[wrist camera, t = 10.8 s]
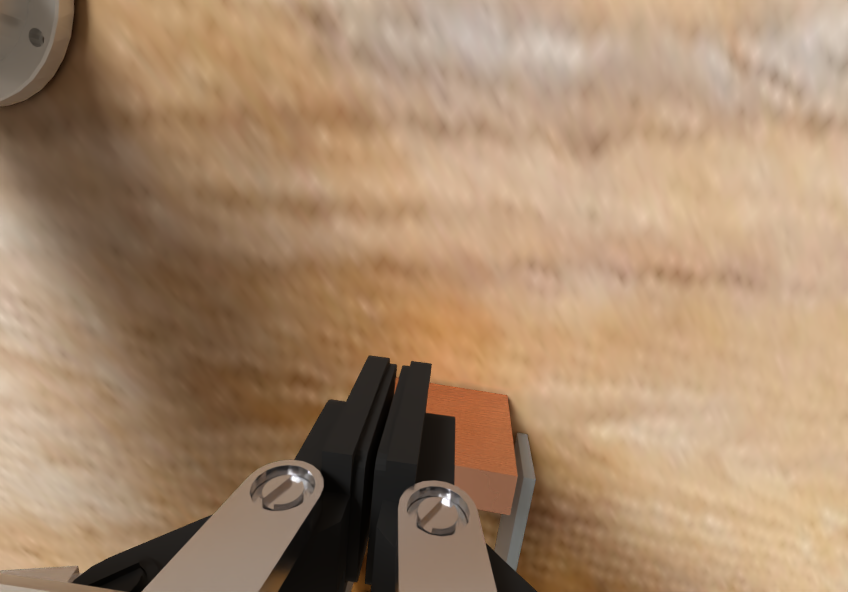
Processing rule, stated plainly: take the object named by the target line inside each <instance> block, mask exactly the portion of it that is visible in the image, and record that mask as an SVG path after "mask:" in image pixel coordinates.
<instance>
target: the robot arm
mask: <svg viewBox="0 0 848 592" xmlns="http://www.w3.org/2000/svg"><path fill="white" fill-rule="evenodd" d="M73 17H74V0H0V106H9V105H12V104H15V103H18V102H21V101H24V100H27V99H28V98H30V97H31V96H33V95H34V94H36V93H37V92H39V91H40V90H41V89H42V88H43V87H44V86H45V85H46V84H47V83H48V82H49V81H50V80H51V78H52V77H53V76H54V75H55V73H56V71H57V69H58V68H59V66H60V64H61V62H62V61H63V59H64V56H65V53H66V50H67V47H68V44H69V41H70V38H71V32H72V25H73ZM431 365H432V364H430V363H422V362H414V361H411V365H410V366H402V370H401V373H400V376H399V380H398V383H397V387H396V390H395V381H396V371H397V365H396V364H390V358H384V357H377V356H368V358H367V360H366V362H365V364H364V366H363V368H362V370H361V373H360V375H359V377H358V379H357V381H356V383H355V385H354V387H353V389H352V391H351V393H350V395H349V397H348V399H347V401H346V402H345V401H338V400H329V401H328V402H327V403H326V405H325V407H324V409H323V410H322V412H321V414H320V416H319V417H318V419H317V421H316V423H315V424H314V426H313V428H312V430H311V432H310V433H309V435H308V437H307V439H306V440H305V442H304V444H303V446H302V447H301V449H300V451H299V453H298V454H297V456H296V458H295V460H281V461H276V462H273V463H269V464H267V465H265V466H263V467H261V468H259V469H257V470H256V471H254V472H253V473H252V474H251V475H250V476H248V477H247V478H246V480H245V481H244V482H243V483H242V484H241V485H240V486H239V487H238V488H237V489H236V490H235V491H234V492H233V494H232V495H231V496H230V497H229V498H228V499H227V500H226V501H225V502H224V503H223V504H222V505H221V506H220V508H219V509H218V510H217V511H216V512H215V513H214V514H213V515H210V516H208V517H206V518H203V519H201V520H198V521H196V522H194V523H191V524H189V525H186V526H184V527H182V528H179V529H177V530H174V531H172V532H170V533H167V534H165V535H162V536H160V537H158V538H155V539H153V540H150V541H148V542H146V543H143V544H141V545H138V546H136V547H134V548H131V549H129V550H126V551H124V552H122V553H119V554H117V555H114V556H112V557H110V558H108V559H106V560H104V561H102V562H100V563H98V564H96V565H94V566H92V567H91V568H89V569H88V570H87V571H85V572H84V573H83V574H79V568H78V566H68V567H51V568H35V569H18V570H2V571H0V592H345V591H346V587H347V583H348V581H350V582H357V581H358V578H359V574H360V570H361V566H362V562H363V558H364V554H365V550H366V546H367V542H368V552H367V564H366V576H365V584H369V585H371V592H537V591H536V590H535V589H534V588H533V587H532V586H531V585H529V584H528V583H527V582H526V581H525V580H524V579H523V578H522V577H521V576H520V575H519V574H518V573H517V572H516V571H515V570H514V569H513V568H512V567H510V566H509V565H508V564H507V563H506V562H505V561H504V560H503V559H502V558H501V557H500V556H499V555H498V554H497V553H496V552H495V551H494V550H493V549H491V548H490V547H489V546H488V545H487V544H486V543H485V539H484V535H483V531H482V527H481V522H480V518H479V514H478V510H477V508H476V506H475V503H474V501H473V500H472V499H471V498H470V496H469V495H468V494H467V493H466V492H464V491H463V490H461V489H460V488H459V487H457V486H455V485H454V481H455V417H454V416H447V415H439V414H432V413H426V407H427V398H428V390H429V382H430V374H431ZM394 392H395V394H394ZM368 538H369V540H368Z"/></svg>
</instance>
